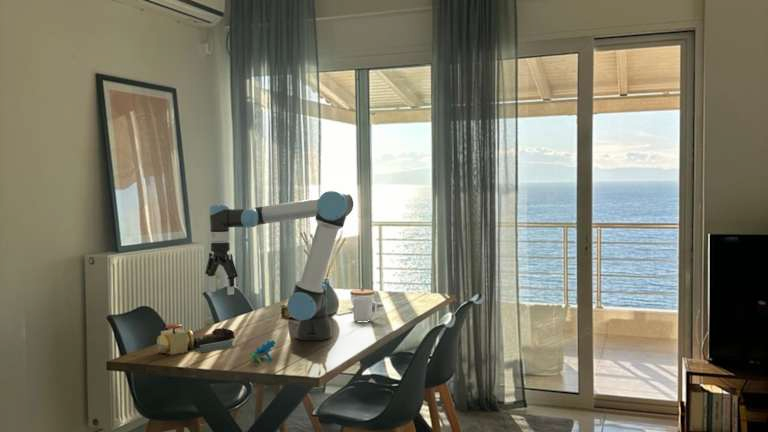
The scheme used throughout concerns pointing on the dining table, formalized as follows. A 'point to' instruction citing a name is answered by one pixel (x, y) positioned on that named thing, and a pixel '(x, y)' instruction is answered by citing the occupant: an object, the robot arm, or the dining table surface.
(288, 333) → the dining table surface
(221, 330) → the dark brown elongated piece
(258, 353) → the blue green toy
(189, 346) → the brass valve
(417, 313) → the dining table surface
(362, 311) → the mug
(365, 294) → the lidded bowl
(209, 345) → the blue-grey u-shaped block
